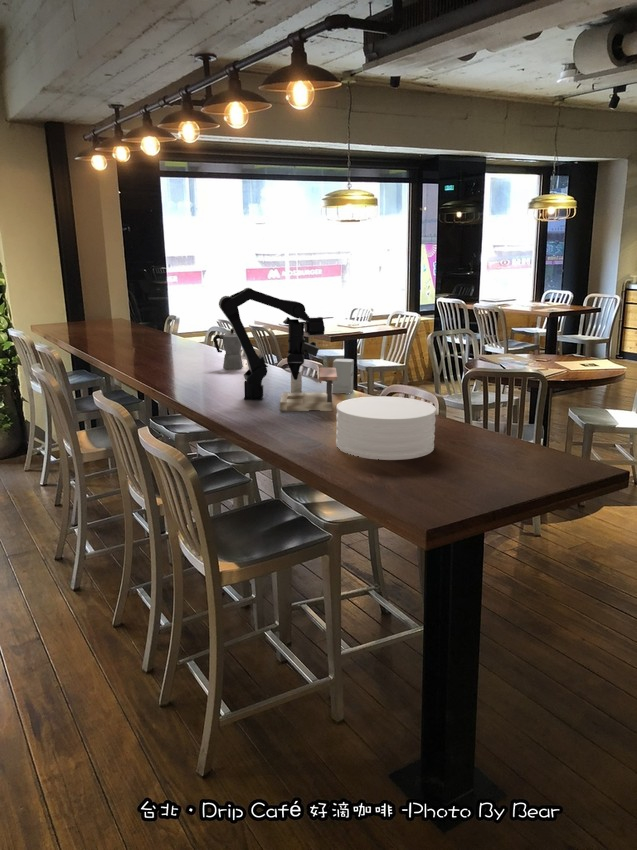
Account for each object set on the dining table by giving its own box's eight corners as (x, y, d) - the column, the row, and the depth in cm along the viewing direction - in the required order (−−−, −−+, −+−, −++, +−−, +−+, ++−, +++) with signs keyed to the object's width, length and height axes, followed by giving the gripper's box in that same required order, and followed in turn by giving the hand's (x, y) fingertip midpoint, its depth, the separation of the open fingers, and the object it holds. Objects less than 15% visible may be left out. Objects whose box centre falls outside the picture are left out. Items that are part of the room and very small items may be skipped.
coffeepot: (246, 365, 322) (245, 327, 317) (248, 369, 313) (247, 330, 308) (213, 366, 319) (211, 328, 314) (214, 370, 310) (213, 330, 305)
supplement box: (350, 394, 262) (351, 361, 259) (331, 393, 263) (332, 361, 260) (353, 390, 269) (354, 358, 266) (335, 389, 270) (335, 358, 267)
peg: (290, 397, 256) (290, 373, 254) (291, 394, 260) (291, 371, 258) (301, 397, 256) (301, 373, 254) (301, 395, 260) (301, 371, 258)
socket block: (280, 411, 234) (279, 376, 231) (282, 399, 251) (282, 367, 248) (336, 411, 234) (337, 376, 231) (335, 400, 251) (335, 367, 248)
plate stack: (318, 440, 201) (318, 402, 198) (395, 428, 214) (397, 392, 211) (371, 466, 177) (372, 423, 174) (454, 451, 190) (456, 411, 188)
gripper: (318, 339, 243) (317, 382, 247) (317, 333, 261) (317, 373, 265) (286, 339, 243) (286, 382, 247) (288, 332, 261) (288, 372, 265)
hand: (296, 377), depth 256 cm, fingers open, 9 cm apart
